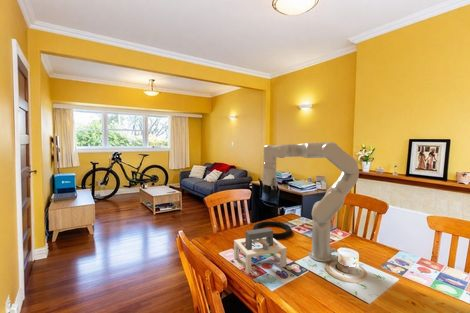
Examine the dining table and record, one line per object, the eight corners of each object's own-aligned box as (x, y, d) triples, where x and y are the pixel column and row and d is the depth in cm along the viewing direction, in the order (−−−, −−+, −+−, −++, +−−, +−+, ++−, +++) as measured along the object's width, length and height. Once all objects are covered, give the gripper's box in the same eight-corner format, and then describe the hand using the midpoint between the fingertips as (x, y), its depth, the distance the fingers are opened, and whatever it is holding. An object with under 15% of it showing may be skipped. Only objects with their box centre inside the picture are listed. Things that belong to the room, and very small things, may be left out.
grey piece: (249, 256, 129) (249, 234, 128) (245, 252, 133) (245, 231, 132) (272, 252, 134) (273, 230, 133) (268, 248, 138) (268, 227, 137)
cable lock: (296, 224, 182) (284, 238, 156) (296, 229, 183) (284, 244, 156) (261, 218, 195) (244, 230, 169) (261, 223, 196) (244, 236, 169)
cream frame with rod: (268, 250, 147) (269, 227, 145) (286, 266, 129) (286, 240, 128) (234, 257, 139) (234, 232, 138) (247, 274, 121) (247, 246, 120)
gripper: (257, 164, 154) (257, 191, 155) (271, 167, 137) (270, 197, 139) (268, 164, 156) (268, 190, 157) (283, 167, 140) (282, 196, 141)
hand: (269, 194), depth 148 cm, fingers open, 9 cm apart
